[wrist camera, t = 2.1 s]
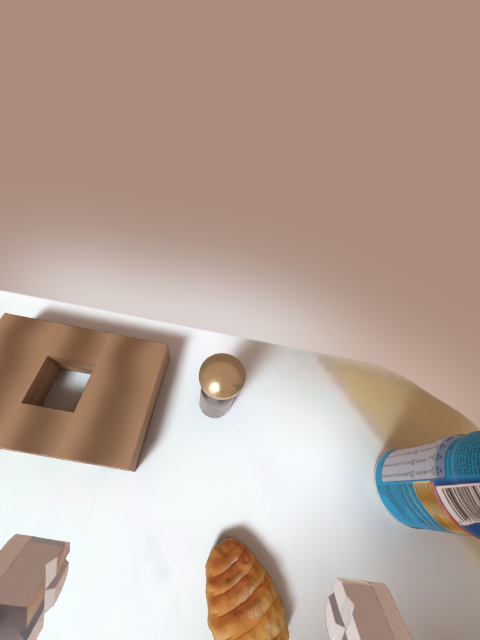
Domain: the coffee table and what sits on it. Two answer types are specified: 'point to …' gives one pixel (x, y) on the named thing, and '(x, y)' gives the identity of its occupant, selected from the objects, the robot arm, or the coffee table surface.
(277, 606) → the pastry
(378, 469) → the beverage bottle
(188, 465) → the coffee table surface
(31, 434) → the socket block
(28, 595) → the robot arm
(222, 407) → the grey upright cylinder
